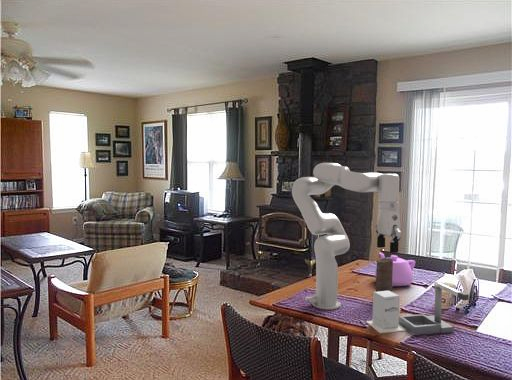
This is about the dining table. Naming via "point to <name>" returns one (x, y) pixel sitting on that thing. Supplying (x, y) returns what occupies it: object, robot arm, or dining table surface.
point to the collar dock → (427, 320)
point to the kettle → (401, 271)
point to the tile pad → (380, 330)
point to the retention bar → (452, 291)
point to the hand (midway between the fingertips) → (387, 249)
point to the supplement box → (385, 309)
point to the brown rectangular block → (384, 274)
